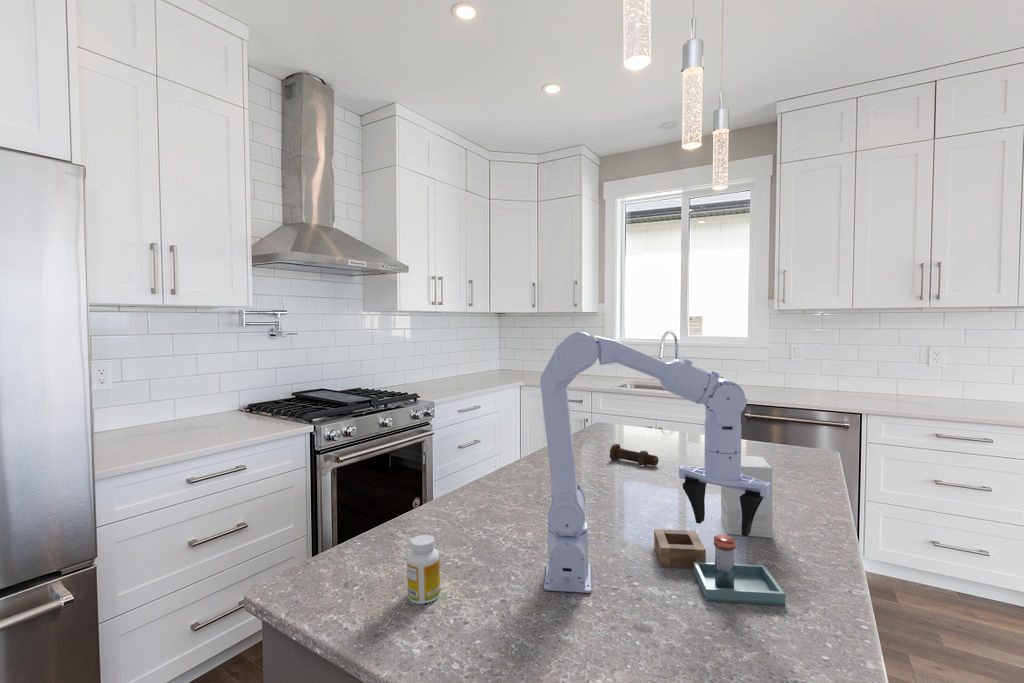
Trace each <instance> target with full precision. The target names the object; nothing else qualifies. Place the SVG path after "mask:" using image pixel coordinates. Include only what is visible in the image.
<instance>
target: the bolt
mask: <svg viewBox="0 0 1024 683" xmlns="http://www.w3.org/2000/svg"><path fill="white" fill-rule="evenodd" d="M609 458H610V460H611V461H612V460H616V461H617V459H618V460H625V461H629V462H634V463H638V465H639V466H640V465H646V464H647V465H648V466H653V467H656V466H657V465H658V464H659V461H660V460H659V457H658V456H657V455H654V454H653V455H652V454H649V453H648V451H647V450H640V451H634V450H630V449H626V448H625V449H624V448H621V445H620V444H619V443H614V444H612V445H611V447H610V449H609ZM647 465H646V466H647Z"/></svg>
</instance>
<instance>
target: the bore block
mask: <svg viewBox="0 0 1024 683" xmlns="http://www.w3.org/2000/svg"><path fill="white" fill-rule="evenodd" d="M653 541H654V542H653V547H655V548H654V550H656V551H655V553H657V554H656V556H658V557H657V559H659V560H658V562H659V566H660V567H661V568H676V569H677V568H678V569H679V568H680V569H693V562H707V561H706V559H707V558H706V557H707V556H706V555H707V553H706V552H707V551H706V547H705V546H704V544H703V543H702V540H701V538H700V537H699V535H698V533H697V532H696V530H684V529H683V530H682V529H681V530H680V529H659V528H657V529H656V528H654V529H653Z"/></svg>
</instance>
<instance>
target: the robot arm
mask: <svg viewBox="0 0 1024 683" xmlns="http://www.w3.org/2000/svg"><path fill="white" fill-rule="evenodd" d="M594 336H595V337H594ZM594 336H593V335H592V334H590V333H589V332H585V331H574V332H572V333H571V334H569V335H568V336H567V337H565V339H564V340H563V341H562V342H560V343H559V345H557V346H556V347H555V349H554V352H553V353H552V355H551V357H550V358H549V360H548V362H547V364H546V366H545V367H544V370H543V372H542V374H541V375H540V379H539V380H540V381H539V384H540V391H541V393H540V394H541V400H542V402H541V403H542V409H543V419H544V426H545V427H544V428H545V437H546V445H547V454H548V463H549V472H550V497H551V502H550V507H549V510H548V513H547V521H548V522H547V526H546V527H547V561H546V562H547V563H546V569H545V577H544V585H543V589H544V590H545V591H553V592H569V593H584V594H585V593H587V594H590V593H591V592H592V576H591V572H592V571H591V563H590V562H589V526H588V523H587V521H586V514H585V505H586V495H585V493H584V491H583V489H582V488H581V487H580V484H579V479H578V478H579V477H578V473H577V466H576V458H575V449H574V440H573V430H572V422H571V413H570V406H569V405H570V404H569V396H568V386H569V385H570V384H571V383H572V382H573V381H574V379H575V378H576V377H577V376H578V375H579V374H581V373H583V372H585V371H586V370H588V369H589V368H591V367H592V366H594V365H595V363H596V362H597V361H598V362H599V365H600V366H604V365H611V364H619V365H622V366H624V367H627V368H630V369H632V370H635V371H638V372H640V373H642V374H645V375H647V376H650V377H653V378H654V379H655V378H656V379H658V380H659V382H660V384H661V387H662V389H663V390H664V391H667V392H668V393H669V392H670V394H671V393H672V394H674V395H676V396H678V397H681V398H683V399H686V400H688V401H691V402H692V403H695V404H696V405H704V406H705V407H704V408H705V411H704V412H705V415H704V416H705V420H704V467H700V466H699V467H697V466H689V465H682V466H680V467H678V478H679V479H681V480H684V482H683V483H682V485H681V486H682V489H683V491H684V492H685V494H686V496H687V498H688V500H689V503H690V506H691V508H692V511H693V515H694V519H695V523H696V524H698V525H700V524H702V523H703V522H704V521H705V515H706V514H705V512H706V511H705V507H706V506H705V504H706V503H705V502H706V501H705V499H706V498H705V497H706V490H707V484H709V485H714V486H719V487H721V486H723V487H727V488H732V489H737V490H741V491H745V493H744V494H742V495H741V496H740V503H741V510H742V529H741V531H742V535H741V536H742V537H745V538H747V537H749V536H748V535H749V534H750V531H751V526H752V522H753V519H754V516H755V513H756V511H757V509H758V507H759V505H760V503H761V501H762V500H763V498H764V497H768V496H769V495H770V494H771V483H769V482H765V481H761V480H758V479H755V478H751V477H748V476H745V475H742V474H741V456H742V423H741V422H742V420H741V418H742V412H743V411H744V410H745V408H746V406H747V403H748V398H747V397H746V396H745V392H744V390H743V388H742V387H741V386H740V385H739V384H737V383H736V382H734V381H732V380H729V379H727V378H724V377H723V376H720V373H719V372H716V371H713V370H712V371H711V372H710V371H707V370H704V369H702V368H700V367H697V366H695V365H693V361H691V360H689V359H687V358H683V360H682V359H673V360H670V361H668V362H665V361H663V360H660V359H658V358H656V357H653V356H651V355H649V354H647V353H645V352H642V351H641V350H638V349H636V348H633V347H631V346H629V345H627V344H625V343H622V342H620V341H618V340H615V339H612V338H608V337H604V336H600V335H594Z"/></svg>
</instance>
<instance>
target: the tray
mask: <svg viewBox="0 0 1024 683" xmlns="http://www.w3.org/2000/svg"><path fill="white" fill-rule="evenodd" d="M692 569H693V574H694V577H695V579H696V581H697V584H698V586H699V588H700V590H701V592H702V594H703V597H704V599H705V601H706V602H710V603H711V602H713V603H727V604H728V603H729V604H746V605H747V604H749V605H762V606H778V607H779V606H780V607H786V593H785V592H784V590H783V588H781V586H780V584H778V582H777V581H776V580H775V578H774V577H773V576H772V574H771V573H770V571H769V570H768V569H767V567H766V565H764V564H747V563H746V564H744V563H734V589H727V588H718V587H717V586H716V585H715V562H707V561H706V562H693V568H692Z"/></svg>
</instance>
